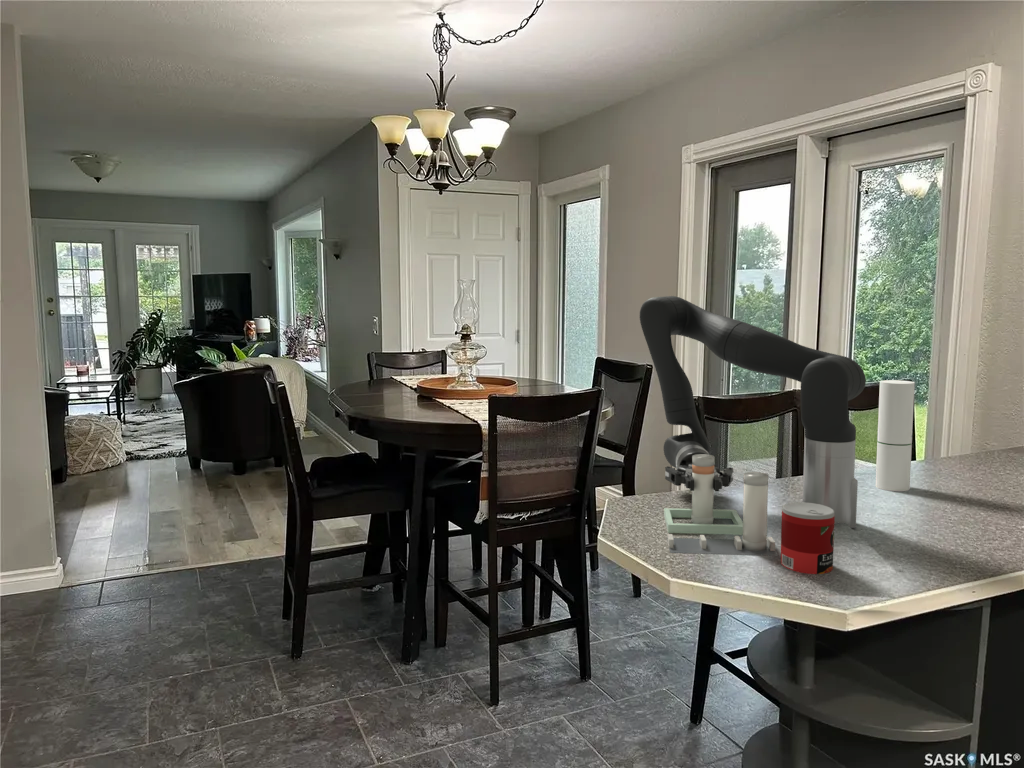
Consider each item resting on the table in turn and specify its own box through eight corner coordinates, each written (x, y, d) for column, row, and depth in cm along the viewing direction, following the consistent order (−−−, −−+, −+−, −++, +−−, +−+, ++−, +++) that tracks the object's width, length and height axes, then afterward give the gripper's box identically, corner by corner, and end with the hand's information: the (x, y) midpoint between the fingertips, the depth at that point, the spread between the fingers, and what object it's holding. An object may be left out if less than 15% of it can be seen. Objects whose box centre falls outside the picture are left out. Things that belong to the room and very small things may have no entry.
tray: (735, 524, 146) (735, 509, 146) (745, 542, 135) (745, 526, 135) (663, 522, 148) (663, 508, 148) (668, 540, 137) (668, 524, 137)
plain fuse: (764, 543, 130) (765, 472, 128) (769, 551, 126) (770, 477, 124) (740, 543, 130) (741, 471, 129) (744, 550, 126) (745, 477, 125)
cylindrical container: (910, 486, 173) (915, 381, 170) (908, 492, 167) (913, 384, 164) (877, 482, 177) (881, 379, 174) (873, 489, 171) (878, 382, 168)
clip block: (768, 548, 132) (768, 532, 132) (778, 564, 124) (778, 547, 124) (666, 545, 134) (666, 529, 134) (669, 560, 126) (670, 544, 126)
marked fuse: (711, 519, 143) (712, 454, 142) (714, 526, 139) (715, 459, 138) (690, 518, 144) (691, 454, 142) (692, 525, 140) (693, 458, 138)
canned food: (828, 586, 114) (830, 518, 113) (775, 577, 118) (777, 510, 117) (836, 570, 121) (838, 505, 119) (785, 562, 125) (787, 499, 124)
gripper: (660, 447, 155) (666, 465, 138) (729, 448, 153) (744, 467, 136) (660, 481, 156) (666, 504, 139) (729, 483, 154) (743, 506, 137)
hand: (704, 485), depth 138 cm, fingers closed on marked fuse, 4 cm apart
